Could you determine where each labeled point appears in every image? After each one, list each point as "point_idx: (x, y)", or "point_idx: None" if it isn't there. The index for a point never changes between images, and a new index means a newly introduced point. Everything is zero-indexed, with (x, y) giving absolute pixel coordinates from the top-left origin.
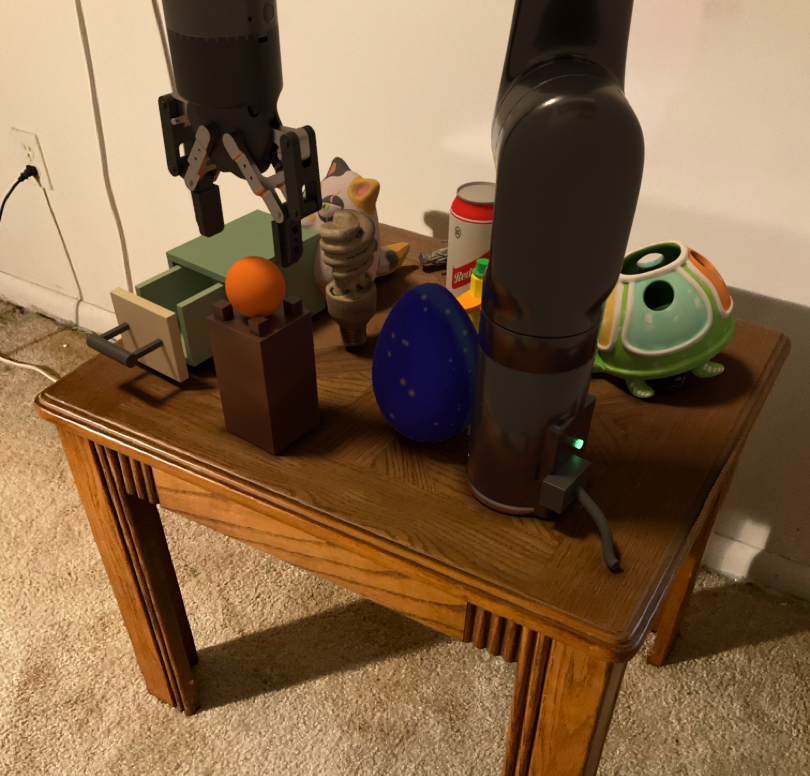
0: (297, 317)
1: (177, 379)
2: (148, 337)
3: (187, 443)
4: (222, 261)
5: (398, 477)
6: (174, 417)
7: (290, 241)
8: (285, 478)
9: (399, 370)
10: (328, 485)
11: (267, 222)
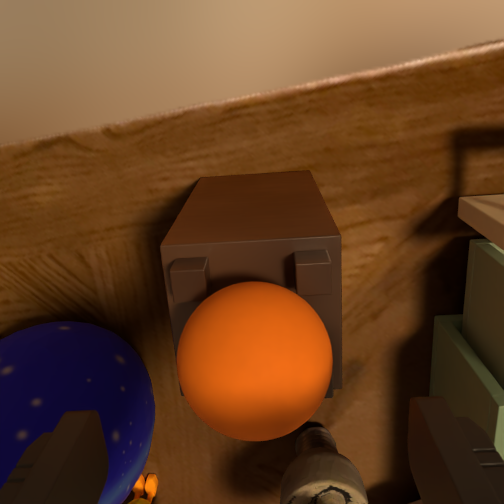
0: None
1: (467, 197)
2: None
3: (333, 102)
4: None
5: (35, 260)
6: (406, 134)
7: (2, 494)
8: (146, 150)
9: (11, 383)
10: (88, 182)
11: None
